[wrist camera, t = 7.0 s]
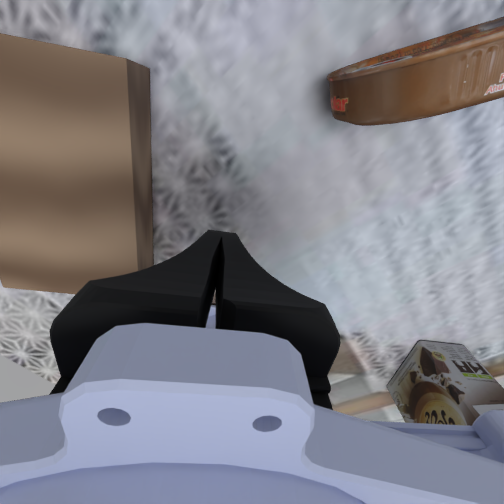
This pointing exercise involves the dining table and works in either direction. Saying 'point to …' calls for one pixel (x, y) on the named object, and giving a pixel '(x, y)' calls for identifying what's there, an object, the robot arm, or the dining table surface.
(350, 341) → the dining table surface
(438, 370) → the coffee box
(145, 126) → the brown wooden block
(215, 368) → the robot arm
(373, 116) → the tin
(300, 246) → the dining table surface
